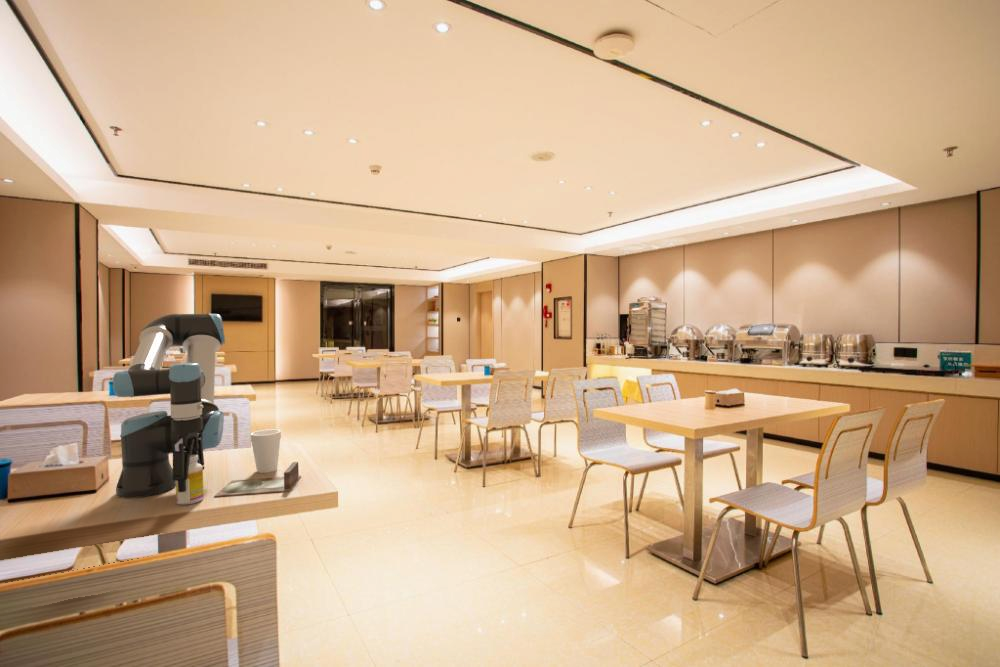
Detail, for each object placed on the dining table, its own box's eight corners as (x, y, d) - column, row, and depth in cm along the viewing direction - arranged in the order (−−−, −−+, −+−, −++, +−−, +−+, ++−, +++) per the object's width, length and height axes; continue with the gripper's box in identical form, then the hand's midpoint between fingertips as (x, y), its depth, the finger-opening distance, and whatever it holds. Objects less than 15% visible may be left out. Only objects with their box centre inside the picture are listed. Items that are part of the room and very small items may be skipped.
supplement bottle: (209, 498, 143) (207, 454, 143) (189, 506, 137) (187, 460, 136) (191, 496, 145) (189, 452, 145) (170, 504, 139) (168, 459, 138)
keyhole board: (214, 497, 144) (213, 478, 144) (231, 481, 158) (231, 465, 157) (290, 491, 147) (289, 473, 147) (301, 476, 161) (300, 460, 161)
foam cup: (274, 474, 165) (272, 435, 164) (246, 474, 165) (245, 435, 165) (286, 465, 174) (285, 429, 174) (260, 466, 174) (259, 429, 174)
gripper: (185, 423, 131) (188, 509, 132) (215, 410, 150) (218, 485, 151) (154, 425, 130) (157, 512, 131) (188, 412, 149) (191, 487, 150)
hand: (190, 497), depth 141 cm, fingers closed on supplement bottle, 7 cm apart
